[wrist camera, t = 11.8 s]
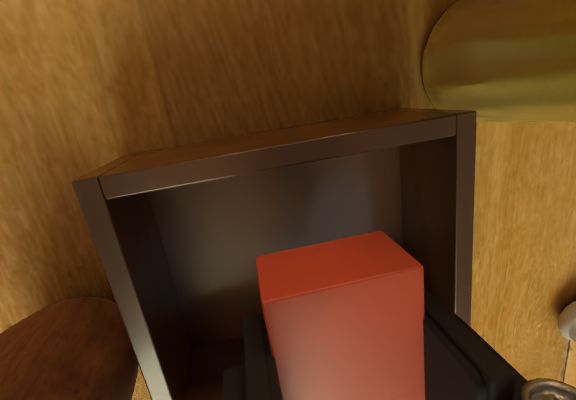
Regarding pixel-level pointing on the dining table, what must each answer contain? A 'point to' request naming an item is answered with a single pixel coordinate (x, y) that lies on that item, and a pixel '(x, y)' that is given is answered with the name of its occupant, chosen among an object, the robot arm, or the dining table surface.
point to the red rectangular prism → (345, 319)
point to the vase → (504, 60)
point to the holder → (271, 226)
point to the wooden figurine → (68, 354)
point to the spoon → (568, 322)
